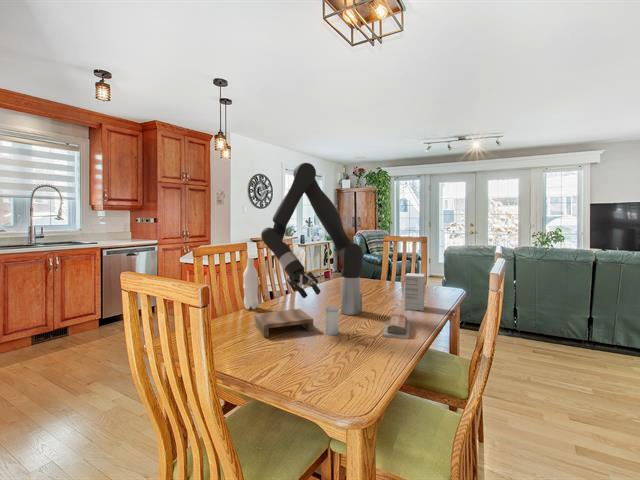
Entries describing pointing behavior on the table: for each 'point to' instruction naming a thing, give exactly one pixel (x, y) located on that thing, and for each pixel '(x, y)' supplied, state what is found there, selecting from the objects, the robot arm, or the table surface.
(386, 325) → the packaged product
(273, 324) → the shelf riser
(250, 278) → the water bottle
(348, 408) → the table surface
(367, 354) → the table surface
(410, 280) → the supplement box
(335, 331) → the tumbler
